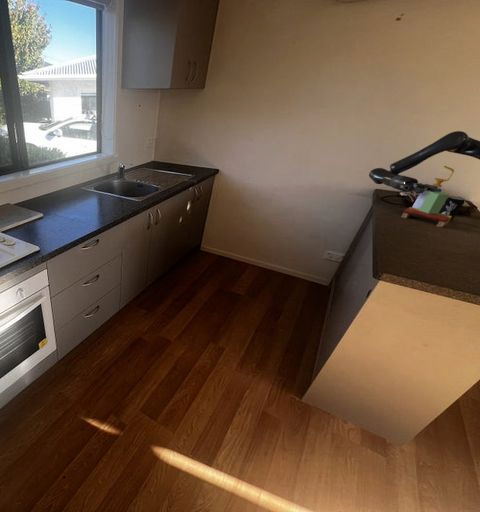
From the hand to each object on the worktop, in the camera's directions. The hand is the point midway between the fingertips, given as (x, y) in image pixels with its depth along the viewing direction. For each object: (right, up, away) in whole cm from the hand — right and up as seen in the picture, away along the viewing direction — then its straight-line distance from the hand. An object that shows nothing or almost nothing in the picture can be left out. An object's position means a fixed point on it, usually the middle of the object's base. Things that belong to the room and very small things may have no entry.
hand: (431, 191), depth 148 cm
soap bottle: (+15, -7, +18) cm, 25 cm away
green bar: (0, -10, +2) cm, 10 cm away
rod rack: (0, -15, +4) cm, 15 cm away
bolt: (+30, -8, +17) cm, 35 cm away
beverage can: (+13, -14, +6) cm, 20 cm away
